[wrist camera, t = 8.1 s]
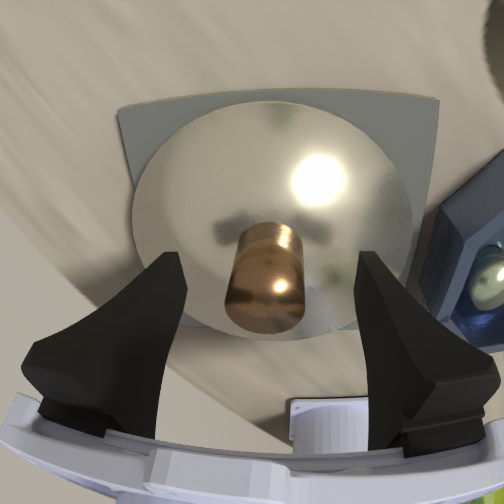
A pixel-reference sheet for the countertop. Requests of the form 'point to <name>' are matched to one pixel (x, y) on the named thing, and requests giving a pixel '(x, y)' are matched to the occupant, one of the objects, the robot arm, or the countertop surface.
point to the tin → (470, 261)
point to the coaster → (333, 100)
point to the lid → (271, 216)
